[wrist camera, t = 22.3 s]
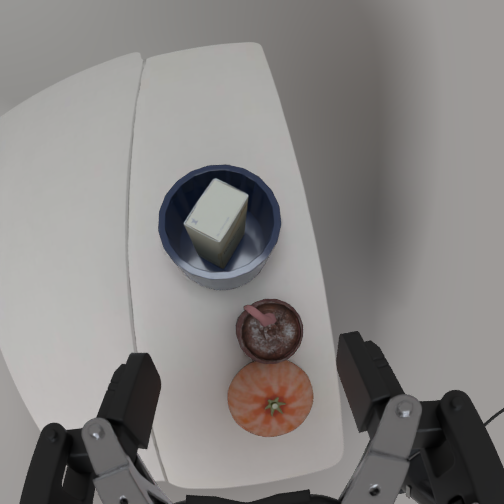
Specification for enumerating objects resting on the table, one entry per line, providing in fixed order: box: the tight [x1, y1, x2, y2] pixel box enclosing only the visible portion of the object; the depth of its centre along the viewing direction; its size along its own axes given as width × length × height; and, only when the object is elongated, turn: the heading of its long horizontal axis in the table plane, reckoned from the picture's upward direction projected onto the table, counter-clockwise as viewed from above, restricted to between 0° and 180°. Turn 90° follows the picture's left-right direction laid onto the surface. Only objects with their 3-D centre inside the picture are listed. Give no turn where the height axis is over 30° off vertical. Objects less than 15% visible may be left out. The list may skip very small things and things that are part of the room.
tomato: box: [228, 360, 313, 437], centre depth 31 cm, size 11×11×8 cm
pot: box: [158, 165, 281, 290], centre depth 35 cm, size 14×14×10 cm
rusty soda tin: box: [236, 299, 303, 364], centre depth 30 cm, size 6×6×14 cm
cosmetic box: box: [184, 178, 248, 269], centre depth 33 cm, size 6×4×12 cm
